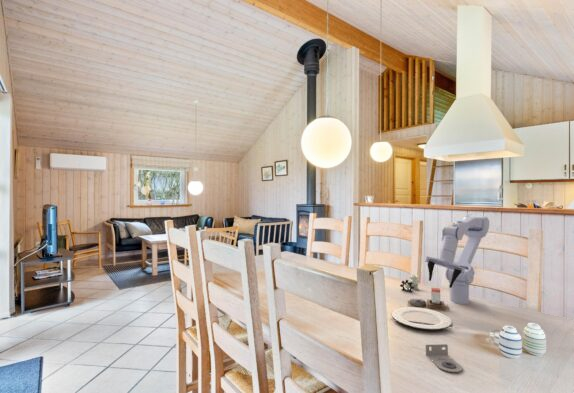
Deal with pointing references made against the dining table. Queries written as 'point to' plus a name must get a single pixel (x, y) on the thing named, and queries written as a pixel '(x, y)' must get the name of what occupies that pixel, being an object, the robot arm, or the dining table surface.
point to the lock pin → (435, 296)
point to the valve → (411, 284)
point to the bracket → (443, 363)
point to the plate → (398, 317)
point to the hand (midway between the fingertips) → (440, 283)
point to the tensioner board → (427, 304)
